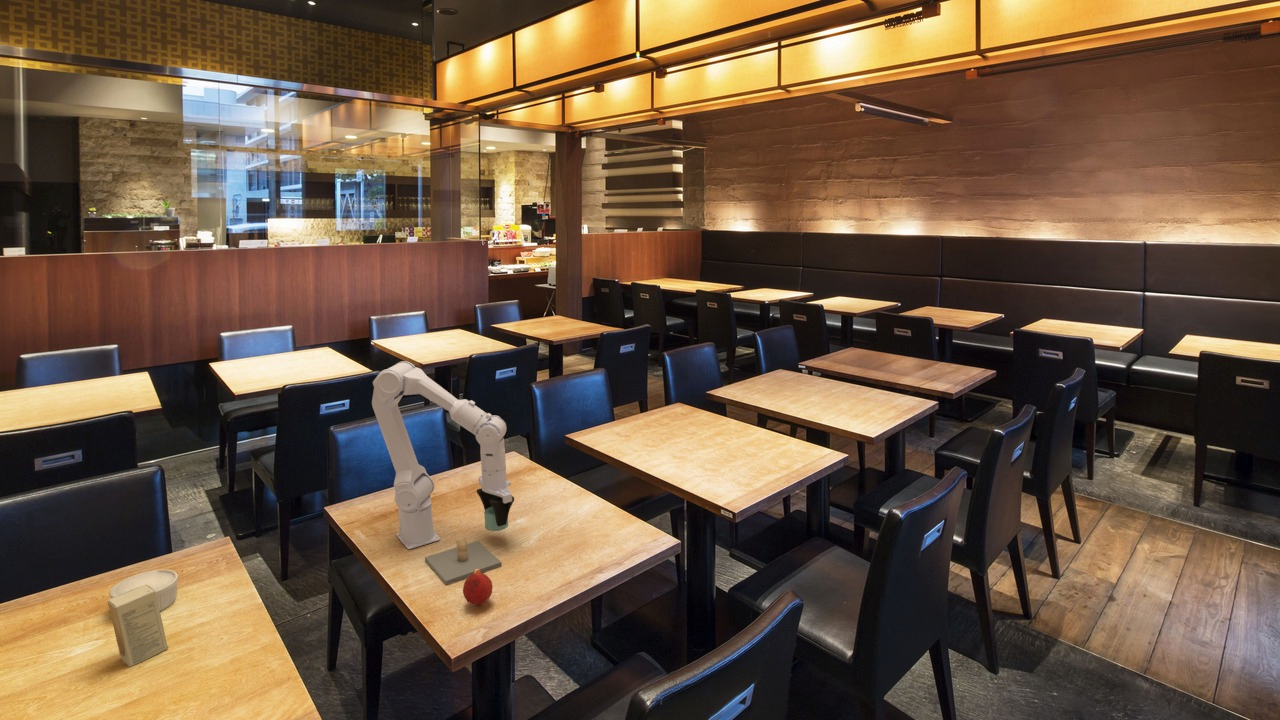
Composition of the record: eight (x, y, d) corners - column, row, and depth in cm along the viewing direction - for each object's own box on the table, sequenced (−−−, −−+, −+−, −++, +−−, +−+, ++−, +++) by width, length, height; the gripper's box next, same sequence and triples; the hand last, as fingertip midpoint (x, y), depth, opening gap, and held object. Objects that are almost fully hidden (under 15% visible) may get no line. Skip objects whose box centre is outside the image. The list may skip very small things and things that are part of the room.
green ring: (481, 524, 161) (480, 509, 160) (502, 519, 164) (501, 504, 164) (491, 533, 157) (490, 517, 156) (511, 526, 160) (511, 511, 159)
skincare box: (159, 641, 124) (148, 582, 122) (169, 649, 122) (158, 589, 119) (118, 659, 119) (105, 598, 117) (127, 668, 117) (115, 606, 114)
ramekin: (194, 596, 139) (190, 573, 138) (140, 626, 129) (135, 602, 128) (156, 587, 143) (152, 565, 142) (101, 616, 133) (96, 592, 131)
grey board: (425, 561, 152) (424, 557, 152) (478, 544, 160) (478, 540, 160) (446, 585, 142) (445, 581, 142) (501, 566, 150) (501, 562, 150)
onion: (486, 615, 131) (483, 578, 130) (459, 612, 132) (456, 575, 131) (497, 598, 137) (495, 563, 135) (472, 596, 138) (469, 561, 136)
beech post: (456, 559, 151) (454, 539, 150) (465, 556, 152) (464, 536, 151) (460, 563, 149) (458, 542, 148) (469, 560, 151) (467, 539, 150)
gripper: (522, 473, 154) (525, 526, 157) (496, 455, 165) (498, 506, 168) (494, 480, 150) (497, 535, 153) (469, 461, 161) (472, 513, 164)
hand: (496, 520), depth 160 cm, fingers closed on green ring, 5 cm apart
